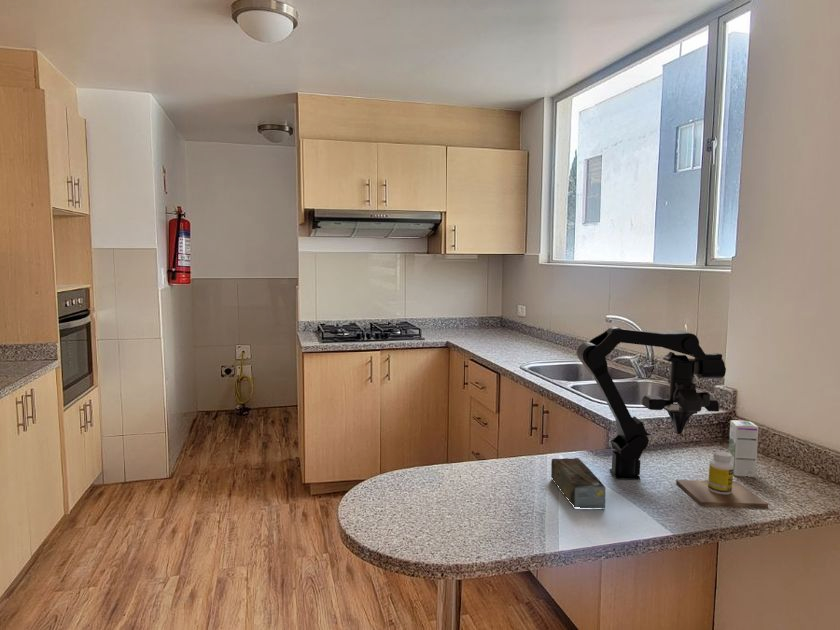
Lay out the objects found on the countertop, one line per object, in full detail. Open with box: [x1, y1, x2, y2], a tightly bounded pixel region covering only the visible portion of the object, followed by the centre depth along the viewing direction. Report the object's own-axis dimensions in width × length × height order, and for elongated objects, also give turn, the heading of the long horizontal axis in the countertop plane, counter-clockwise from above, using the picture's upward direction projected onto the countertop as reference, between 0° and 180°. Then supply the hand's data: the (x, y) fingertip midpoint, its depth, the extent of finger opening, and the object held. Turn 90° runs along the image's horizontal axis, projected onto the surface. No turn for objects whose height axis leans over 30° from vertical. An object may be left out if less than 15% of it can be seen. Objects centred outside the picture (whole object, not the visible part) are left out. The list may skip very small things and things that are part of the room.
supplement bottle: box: [707, 450, 734, 495], centre depth 143 cm, size 5×5×10 cm
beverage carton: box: [550, 457, 607, 508], centre depth 142 cm, size 8×19×7 cm, turn 3°
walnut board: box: [675, 479, 769, 509], centre depth 143 cm, size 16×14×1 cm
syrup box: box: [728, 419, 759, 478], centre depth 158 cm, size 6×6×14 cm
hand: (678, 434), depth 154 cm, fingers closed
